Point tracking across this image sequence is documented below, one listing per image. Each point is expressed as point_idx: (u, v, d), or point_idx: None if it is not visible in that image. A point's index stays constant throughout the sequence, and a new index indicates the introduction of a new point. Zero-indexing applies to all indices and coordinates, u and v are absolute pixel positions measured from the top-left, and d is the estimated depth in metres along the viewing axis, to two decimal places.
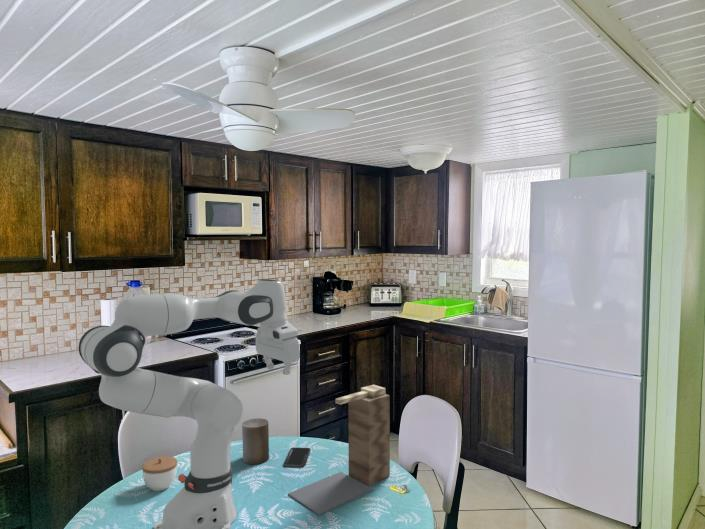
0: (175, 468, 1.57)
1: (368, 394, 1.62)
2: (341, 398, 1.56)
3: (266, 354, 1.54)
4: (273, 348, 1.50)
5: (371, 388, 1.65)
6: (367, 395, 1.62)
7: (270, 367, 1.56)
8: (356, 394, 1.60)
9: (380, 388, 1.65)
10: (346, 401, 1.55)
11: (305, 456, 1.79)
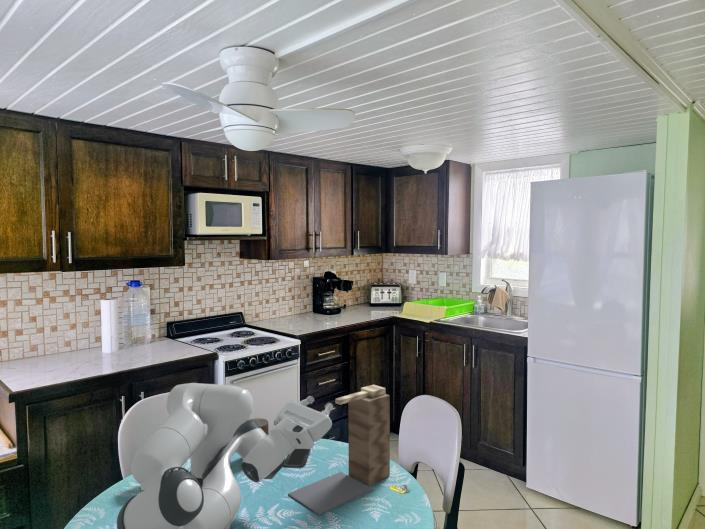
0: None
1: (368, 394, 1.62)
2: (341, 398, 1.56)
3: None
4: None
5: (371, 388, 1.65)
6: (367, 395, 1.62)
7: (312, 400, 1.53)
8: (356, 394, 1.60)
9: (380, 388, 1.65)
10: (346, 401, 1.55)
11: (305, 456, 1.79)
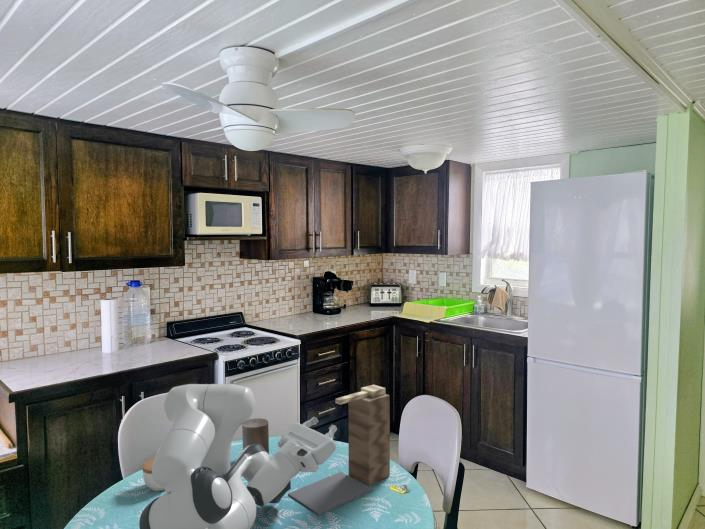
0: None
1: (368, 394, 1.62)
2: (341, 398, 1.56)
3: None
4: None
5: (371, 388, 1.65)
6: (367, 395, 1.62)
7: (316, 421, 1.53)
8: (356, 394, 1.60)
9: (380, 388, 1.65)
10: (346, 401, 1.55)
11: None
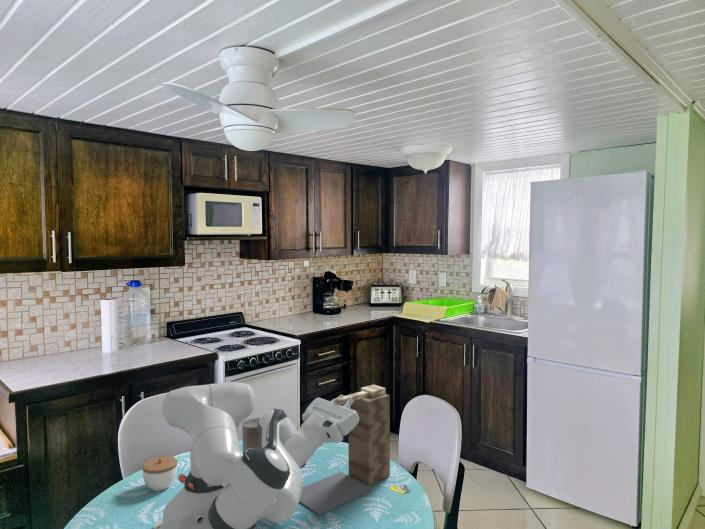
0: (175, 468, 1.57)
1: (368, 394, 1.62)
2: (341, 398, 1.56)
3: None
4: None
5: (371, 388, 1.65)
6: (367, 395, 1.62)
7: None
8: (356, 394, 1.60)
9: (380, 388, 1.65)
10: None
11: None
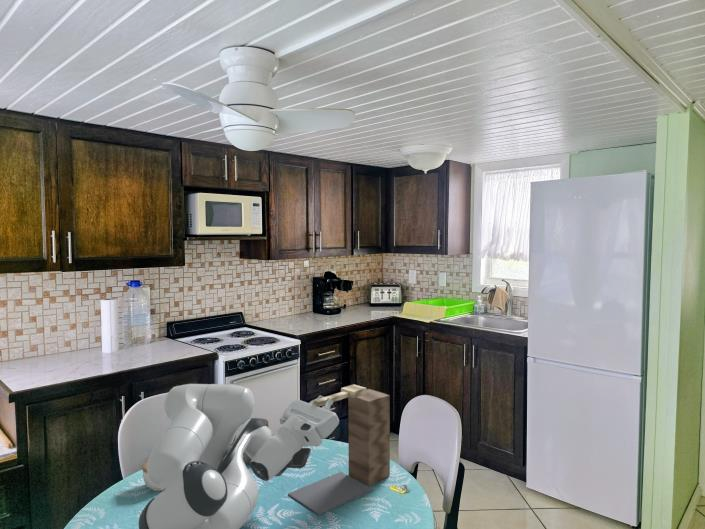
0: None
1: (348, 394, 1.56)
2: (320, 399, 1.49)
3: None
4: None
5: (352, 388, 1.59)
6: (347, 395, 1.56)
7: None
8: (336, 395, 1.54)
9: (361, 388, 1.59)
10: None
11: (305, 456, 1.79)
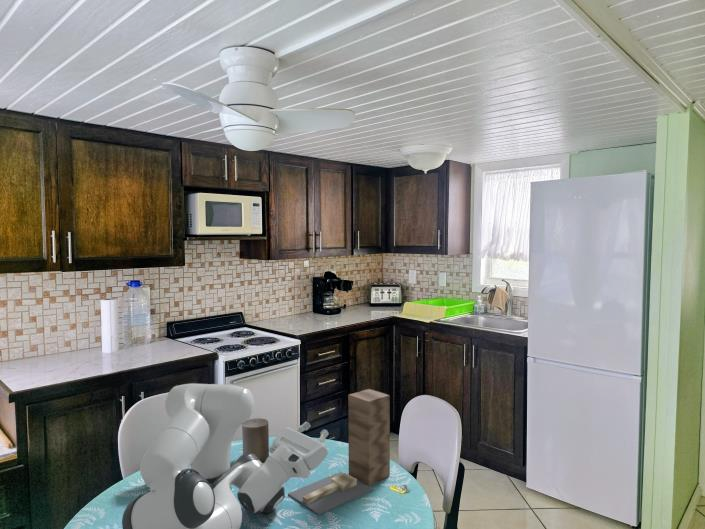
0: None
1: (338, 487, 1.54)
2: (309, 496, 1.47)
3: None
4: None
5: (342, 479, 1.57)
6: (337, 488, 1.54)
7: (308, 426, 1.52)
8: (325, 488, 1.52)
9: (351, 479, 1.57)
10: (314, 499, 1.47)
11: None
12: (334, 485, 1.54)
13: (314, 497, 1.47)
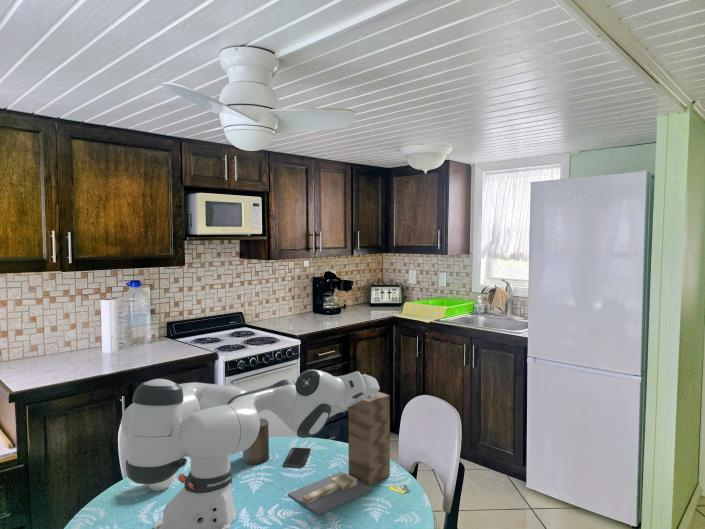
0: None
1: (338, 487, 1.54)
2: (309, 496, 1.47)
3: (343, 409, 1.44)
4: None
5: (342, 479, 1.57)
6: (337, 488, 1.54)
7: (347, 408, 1.49)
8: (325, 488, 1.52)
9: (351, 479, 1.57)
10: (314, 499, 1.47)
11: (305, 456, 1.79)
12: (334, 485, 1.54)
13: (314, 497, 1.47)
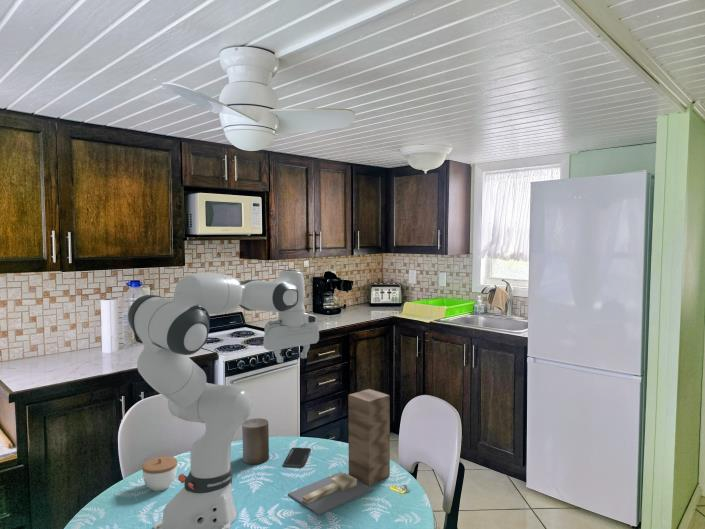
0: (175, 468, 1.57)
1: (338, 487, 1.54)
2: (309, 496, 1.47)
3: (286, 345, 1.55)
4: (297, 336, 1.58)
5: (342, 479, 1.57)
6: (337, 488, 1.54)
7: None
8: (325, 488, 1.52)
9: (351, 479, 1.57)
10: (314, 499, 1.47)
11: (305, 456, 1.79)
12: (334, 485, 1.54)
13: (314, 497, 1.47)
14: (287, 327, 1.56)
